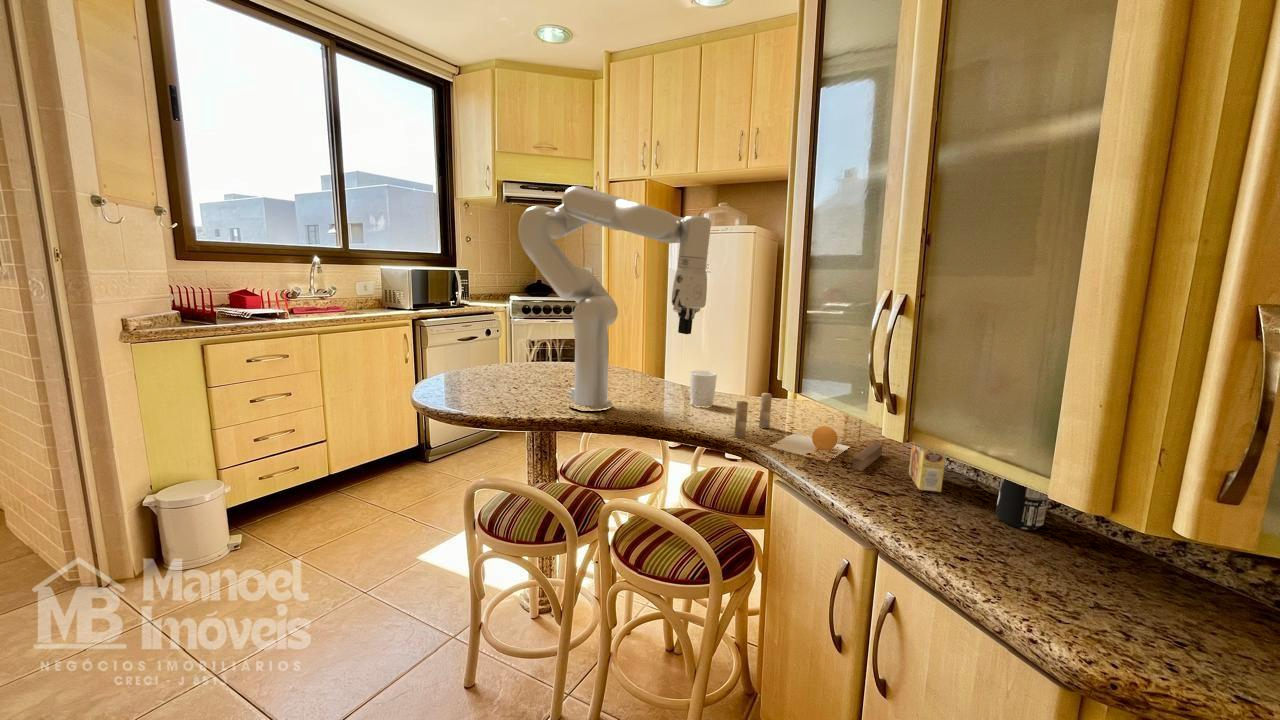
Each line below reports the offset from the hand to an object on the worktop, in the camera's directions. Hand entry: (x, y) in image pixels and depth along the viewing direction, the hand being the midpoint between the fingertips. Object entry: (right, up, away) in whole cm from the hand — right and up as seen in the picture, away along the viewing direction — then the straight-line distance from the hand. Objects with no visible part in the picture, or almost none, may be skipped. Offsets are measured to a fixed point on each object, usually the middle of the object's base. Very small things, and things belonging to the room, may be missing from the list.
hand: (684, 333), depth 141 cm
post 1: (+12, -26, -14) cm, 32 cm away
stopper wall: (+38, -30, -27) cm, 55 cm away
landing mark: (+28, -28, -18) cm, 43 cm away
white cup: (+7, -21, +16) cm, 27 cm away
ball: (+31, -25, -20) cm, 45 cm away
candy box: (+44, -32, -37) cm, 66 cm away
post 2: (+21, -25, -4) cm, 33 cm away
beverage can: (+52, -35, -53) cm, 82 cm away
